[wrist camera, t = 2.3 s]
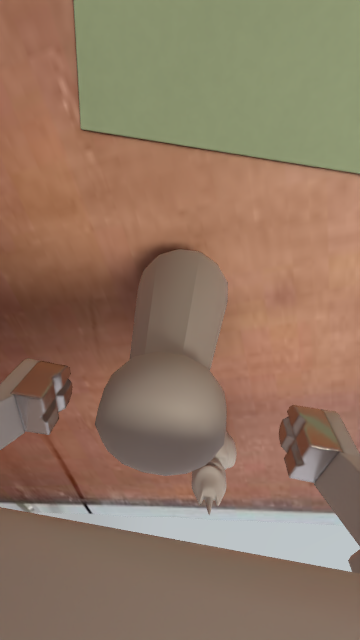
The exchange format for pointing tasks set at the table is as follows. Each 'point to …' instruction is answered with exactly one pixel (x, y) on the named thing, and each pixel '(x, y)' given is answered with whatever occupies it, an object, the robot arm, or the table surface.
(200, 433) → the salt shaker
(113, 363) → the table surface
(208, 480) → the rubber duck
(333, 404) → the table surface
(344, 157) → the desk mat
